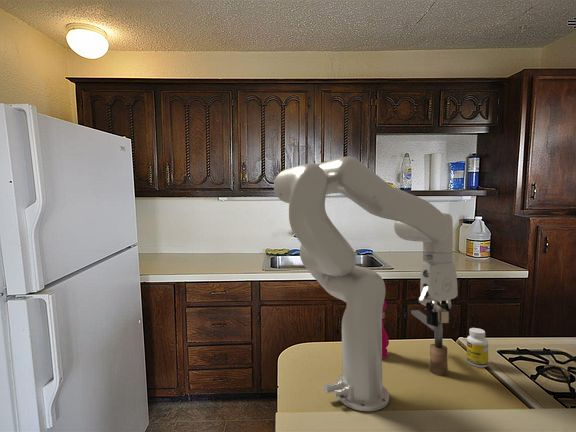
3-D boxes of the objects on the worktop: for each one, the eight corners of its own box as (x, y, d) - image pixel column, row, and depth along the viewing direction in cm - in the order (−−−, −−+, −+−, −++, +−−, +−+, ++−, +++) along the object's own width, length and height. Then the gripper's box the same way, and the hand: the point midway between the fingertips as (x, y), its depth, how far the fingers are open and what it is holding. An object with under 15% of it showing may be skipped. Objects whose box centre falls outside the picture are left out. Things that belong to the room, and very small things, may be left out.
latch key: (449, 351, 86) (449, 311, 85) (440, 351, 85) (440, 311, 85) (418, 326, 104) (418, 293, 104) (411, 326, 104) (410, 293, 104)
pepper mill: (390, 360, 96) (389, 294, 96) (365, 359, 98) (364, 293, 97) (387, 350, 103) (387, 288, 103) (364, 348, 105) (363, 288, 104)
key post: (438, 377, 86) (438, 351, 86) (426, 369, 91) (426, 344, 90) (451, 374, 88) (451, 348, 88) (439, 366, 92) (438, 342, 92)
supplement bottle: (462, 361, 95) (462, 328, 94) (474, 357, 97) (474, 325, 97) (480, 369, 90) (480, 335, 90) (492, 365, 92) (492, 331, 92)
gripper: (428, 262, 81) (429, 333, 82) (469, 256, 89) (470, 322, 89) (405, 258, 88) (406, 324, 88) (445, 253, 96) (446, 314, 96)
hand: (438, 322), depth 89 cm, fingers open, 4 cm apart
